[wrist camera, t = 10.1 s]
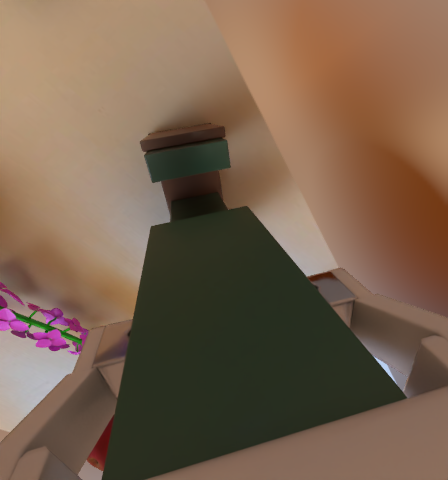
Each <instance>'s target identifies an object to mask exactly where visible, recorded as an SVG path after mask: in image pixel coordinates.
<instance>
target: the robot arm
mask: <svg viewBox="0 0 448 480" xmlns="http://www.w3.org/2000/svg"><path fill="white" fill-rule="evenodd" d="M307 278H308V279H309V280H310V282H311V283H312V284H313V285H314V286H315V288H316V289H317V290H318V291H319V292H320V294H321V295H322V296H323V297H324V298H325V300H326V301H327V302H328V303H329V304H330V305H331V307H332V308H333V309H334V310H335V311H336V313H337V314H338V315H339V316H340V317H341V319H342V320H343V321H344V322H345V323H346V325H347V326H348V327H349V328H350V329H351V331H352V332H353V333H354V334H355V335H356V337H357V338H358V339H359V340H360V341H361V343H362V344H363V345H364V346H365V347H366V349H367V350H368V351H369V352H370V353H371V355H373V356H375V357H376V358H378V359H379V360H381V361H383V362H384V363H386V364H387V365H389V366H391V367H392V368H394V369H396V370H397V371H399V372H400V373H402V374H404V375H405V376H407V377H408V378H407V381H406V384H405V387H404V390H403V393H404V394H405V395H406V396H407V398H406V399H403V400H400V401H397V402H393V403H390V404H387V405H384V406H381V407H377V408H374V409H371V410H368V411H364V412H361V413H358V414H355V415H351V416H348V417H345V418H342V419H339V420H335V421H332V422H329V423H326V424H322V425H319V426H316V427H313V428H309V429H306V430H303V431H300V432H297V433H293V434H290V435H287V436H284V437H280V438H277V439H274V440H271V441H268V442H264V443H261V444H258V445H255V446H251V447H248V448H245V449H242V450H238V451H235V452H232V453H229V454H226V455H222V456H219V457H216V458H213V459H209V460H206V461H203V462H200V463H197V464H193V465H190V466H187V467H184V468H180V469H177V470H174V471H171V472H168V473H164V474H161V475H158V476H155V477H151V478H148V479H145V480H448V318H447V317H444V316H441V315H438V314H435V313H432V312H429V311H427V310H424V309H421V308H418V307H414V306H412V305H409V304H406V303H403V302H400V301H397V300H394V299H391V298H388V297H386V296H383V295H379V294H375V295H373V294H372V293H371V292H370V291H369V290H367V289H366V288H365V287H364V286H363V285H362V284H361V283H359V282H358V281H357V280H356V279H355V278H354V277H353V276H351V275H350V274H349V273H348V272H347V271H346V270H345V269H343V268H337V269H334V270H330V271H327V272H323V273H319V274H315V275H311V276H307ZM132 321H133V319H132V320H127V321H123V322H118V323H114V324H109V325H107V326H102V327H97V328H92V329H91V330H90V331H89V333H88V335H87V337H86V340H85V342H84V345H83V347H82V350H81V352H80V355H79V357H78V360H77V362H76V365H75V367H74V370H73V372H72V374H68V375H66V376H65V377H64V378H63V379H62V380H61V381H60V382H59V383H58V384H57V386H56V387H55V388H54V389H53V390H52V391H51V392H50V393H49V394H48V395H47V396H46V397H45V398H44V399H43V400H42V401H41V402H40V403H39V404H38V405H37V406H36V407H35V408H34V409H33V410H32V411H31V412H30V413H29V414H28V415H27V416H26V417H25V418H24V419H23V420H22V421H21V422H20V423H19V424H18V425H17V426H16V427H15V428H14V429H13V430H12V431H11V432H10V433H9V434H8V435H7V436H6V437H5V438H4V439H3V440H2V441H1V442H0V480H82V479H81V478H80V477H79V476H78V473H79V471H80V470H81V468H82V466H83V465H84V463H85V461H86V460H87V458H88V456H89V455H90V453H91V451H92V450H93V448H94V446H95V445H96V443H97V441H98V440H99V438H100V436H101V435H102V433H103V432H104V430H105V428H106V427H107V425H108V423H109V422H110V420H111V418H112V417H113V415H114V413H115V409H116V403H117V398H118V393H119V388H120V383H121V378H122V373H123V368H124V362H125V357H126V352H127V347H128V342H129V337H130V332H131V327H132Z"/></svg>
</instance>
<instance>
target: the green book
mask: <svg viewBox="0 0 448 480" xmlns="http://www.w3.org/2000/svg"><path fill="white" fill-rule="evenodd" d="M406 398H407V396H406V395H405V394H404V393H403V392H402V390H401V389H400V388H399V387H398V386H397V384H396V383H395V382H394V381H393V380H392V378H391V377H390V376H389V375H388V374H387V372H386V371H385V370H384V369H383V368H382V366H381V365H380V364H379V363H378V362H377V361H376V359H375V358H374V357H373V356H372V355H371V353H370V352H369V351H368V350H367V349H366V347H365V346H364V345H363V344H362V343H361V341H360V340H359V339H358V338H357V337H356V335H355V334H354V333H353V332H352V331H351V329H350V328H349V327H348V326H347V325H346V323H345V322H344V321H343V320H342V319H341V317H340V316H339V315H338V314H337V313H336V311H335V310H334V309H333V308H332V307H331V305H330V304H329V303H328V302H327V301H326V300H325V298H324V297H323V296H322V295H321V294H320V292H319V291H318V290H317V289H316V288H315V286H314V285H313V284H312V283H311V282H310V280H309V279H308V278H307V277H306V276H305V274H304V273H303V272H302V271H301V270H300V268H299V267H298V266H297V265H296V264H295V262H294V261H293V260H292V259H291V258H290V256H289V255H288V254H287V253H286V252H285V250H284V249H283V248H282V247H281V246H280V244H279V243H278V242H277V241H276V240H275V239H274V237H273V236H272V235H271V234H270V233H269V231H268V230H267V229H266V228H265V227H264V225H263V224H262V223H261V222H260V221H259V219H258V218H257V217H256V216H255V215H254V213H253V212H252V211H251V210H250V209H249V207H248V206H245V207H240V208H235V209H230V210H226V211H221V212H216V213H211V214H207V215H202V216H197V217H192V218H188V219H183V220H178V221H174V222H169V223H164V224H159V225H155V226H151V229H150V234H149V239H148V244H147V250H146V255H145V260H144V265H143V270H142V275H141V280H140V285H139V291H138V296H137V301H136V306H135V311H134V316H133V321H132V327H131V332H130V337H129V342H128V347H127V352H126V357H125V362H124V368H123V373H122V378H121V383H120V388H119V393H118V398H117V403H116V409H115V414H114V419H113V424H112V429H111V434H110V439H109V445H108V450H107V455H106V460H105V465H104V470H103V476H102V480H145V479H148V478H151V477H155V476H158V475H161V474H164V473H168V472H171V471H174V470H177V469H180V468H184V467H187V466H190V465H193V464H197V463H200V462H203V461H206V460H209V459H213V458H216V457H219V456H222V455H226V454H229V453H232V452H235V451H238V450H242V449H245V448H248V447H251V446H255V445H258V444H261V443H264V442H268V441H271V440H274V439H277V438H280V437H284V436H287V435H290V434H293V433H297V432H300V431H303V430H306V429H309V428H313V427H316V426H319V425H322V424H326V423H329V422H332V421H335V420H339V419H342V418H345V417H348V416H351V415H355V414H358V413H361V412H364V411H368V410H371V409H374V408H377V407H381V406H384V405H387V404H390V403H393V402H397V401H400V400H403V399H406Z"/></svg>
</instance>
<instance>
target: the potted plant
mask: <svg viewBox="0 0 448 480" xmlns="http://www.w3.org/2000/svg"><path fill="white" fill-rule="evenodd" d="M1 288H7V287H6V286H5V285H4V284H3V283H1V282H0V290H1V291H3V292H5V293H8V294H9V295H10V296H11V297H13V298H14V299H15V300H17V301H18V302H20V303H21V304H22V305H24V304H23V302H22V301H21V300H20V298H19V297H18V296H16V295H15V294H14V293H13V292H11V291H10V290H8V289H1ZM27 303H28V302H27ZM28 304H29V305H28V307H29V308H30V309H31V310H35V311H34V312H33V313H32V314H31V315H30V317H29V318H28V317H26V316H23V315H21V314H18V313H16V312H15V311H13V310H11V309H7V302H6V301H5V299H4V298H3V297H2V296H0V330H1V331H5V330H8V329H10V327H11V329H13V330H12V331H11V333H12V334H14V335H16V336H19V337H21V338H26V335H25V333H27V336H28V337H29V338H31V339H34V340H38V342H37V343H36V347H42V348H44V347H49V349H50V350H51V351H58V350H60V348H62V349H64V348H68V347H70V346H69V345H70V344H66V341H65V340H64V339H62V338H61V336H62V337H65V338H67V339H69V340H72V341H74V342H72V343H73V345H74V346H75V347H76V348H75V349H76V351H77V352H73V351H68V352H71V354H75V355H78V354H80V351H81V350H82V347H83V345H84V342H85V340H86V337H87V335H88V333H89V331H88V330H87V329H84V328H82V327H81V326H80V323H79V321H78V320H77V319H75V318H73V319H72V320H71V319H67V318H64V317H62V316H63V312H62V311H61V310H60V309H58V308H54V309H52V310H51V311H50V310H43V309H39V310H38V308H40V307H38V306H36V305H34V304H31V303H28ZM37 311H41V313H42V314H43V315H44V316H45V317H47V318H46V323H47V324H44V323H42V322H39V321H36V320H34V319H31V317H32V316H33V315H34V314H35V313H36V312H37ZM57 317H58V318H57ZM20 321H23V322H26V323H29V324H30V325H29V326H27V325H26V324H24V323H23V322H20ZM58 323H59V324H61V325H65V326H69V325H70V328H68V329H66V330H64V331H62V330H59V329H57V328H55V327H52V326H50V325H53V324H58ZM74 324H75V325H74ZM9 325H10V326H9ZM31 325H34V326H37V327H39V328H42V329H45V330H46V331H45V333H41V332H37V333H33V334H31V333H30V332H29V331H28V330H29V328H30V326H31ZM15 330H16V331H15ZM69 330H73V331H76V332H78V331H79V332H81V334H82V335H80V338H81V339H79V338H77V337H75V336H73V335H71V334H68V333H66V332H67V331H69ZM19 331H21V332H19ZM48 331H50V332H49V333H48ZM77 353H78V354H77Z"/></svg>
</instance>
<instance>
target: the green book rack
mask: <svg viewBox="0 0 448 480" xmlns="http://www.w3.org/2000/svg"><path fill="white" fill-rule="evenodd" d="M224 137H225V128H224V126H218V125H213V124H211V123H207V124H202V125H196V126H190V127H184V128H179V129H173V130H167V131H162V132H156V133H150V134H148V136H147V137H146V138H144V139H143V140H141V141H140V144H141V147H142V151H143V152H146V151H147V152H146V154H145V155H144V157H145V160H146V163H147V167H148V170H149V174H150V177H151V180H152V183H155V182H160V181H161V183H162V187H163V191H164V194H165V198H166V201H167V205H168V209H169V212H170V222H174V221H178V220H183V219H188V218H192V217H197V216H202V215H207V214H211V213H216V212H221V211H226V210H228V208H227V207H226V205H225V203H224V202H223V196H222V190H221V184H220V177H219V171H218V170H222V169H227V168H230V167H231V166H230V158H229V151H228V143H227V140H225V139H223V138H224Z"/></svg>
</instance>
